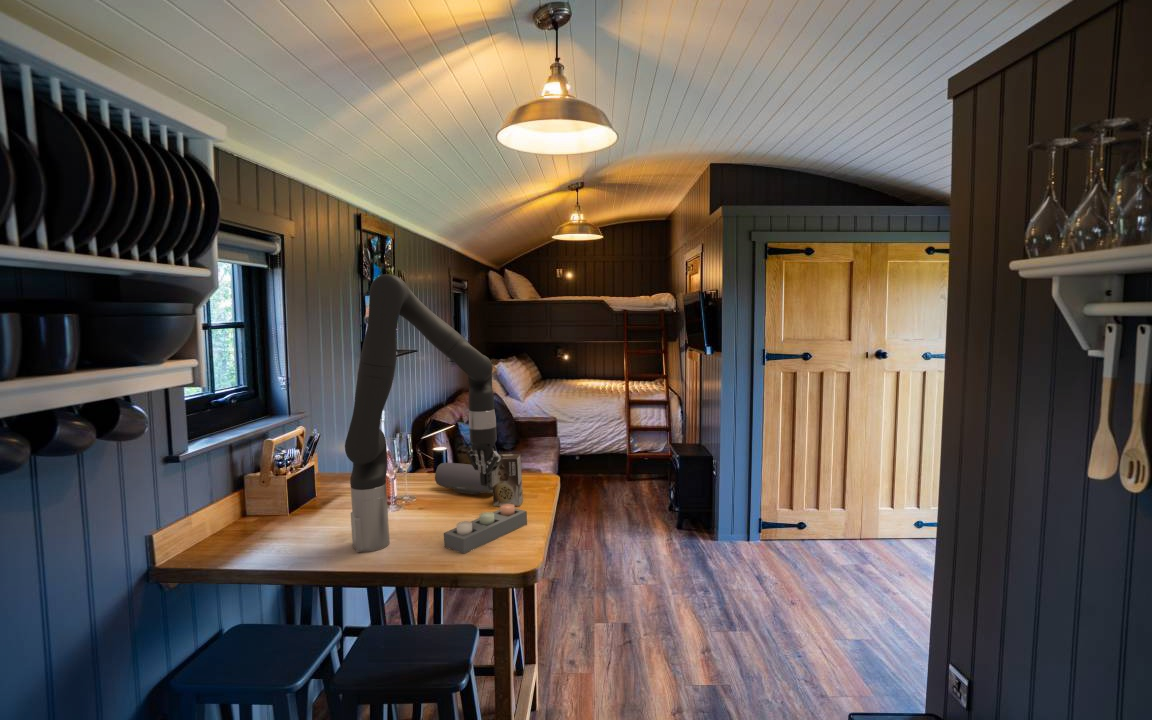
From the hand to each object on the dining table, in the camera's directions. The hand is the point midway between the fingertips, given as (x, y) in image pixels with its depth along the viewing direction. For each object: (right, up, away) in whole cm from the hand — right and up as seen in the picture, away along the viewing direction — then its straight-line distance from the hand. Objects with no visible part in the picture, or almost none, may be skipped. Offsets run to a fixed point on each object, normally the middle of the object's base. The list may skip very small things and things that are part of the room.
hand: (485, 485), depth 161 cm
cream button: (-5, -12, -6) cm, 15 cm away
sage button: (0, -12, +1) cm, 12 cm away
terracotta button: (+5, -11, +8) cm, 14 cm away
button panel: (0, -15, +1) cm, 15 cm away
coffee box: (+3, -12, +28) cm, 31 cm away
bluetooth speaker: (-13, -12, +41) cm, 45 cm away
